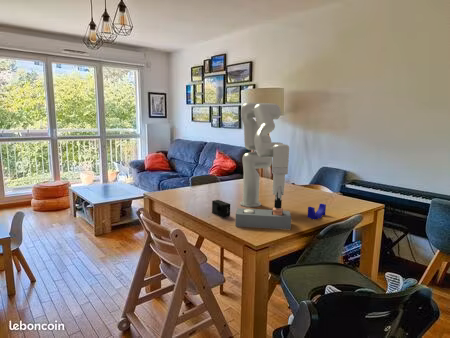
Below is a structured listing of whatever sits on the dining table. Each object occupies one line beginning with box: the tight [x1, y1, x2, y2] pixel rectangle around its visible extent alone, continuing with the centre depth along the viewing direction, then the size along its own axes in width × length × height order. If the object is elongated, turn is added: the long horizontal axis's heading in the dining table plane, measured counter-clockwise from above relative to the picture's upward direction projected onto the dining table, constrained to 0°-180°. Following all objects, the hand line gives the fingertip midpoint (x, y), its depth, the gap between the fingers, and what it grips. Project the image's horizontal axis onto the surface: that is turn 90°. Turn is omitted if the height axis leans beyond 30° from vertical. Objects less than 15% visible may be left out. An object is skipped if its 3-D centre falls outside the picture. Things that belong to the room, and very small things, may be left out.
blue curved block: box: [306, 203, 327, 221], centre depth 162 cm, size 12×4×6 cm, turn 129°
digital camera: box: [211, 199, 231, 219], centre depth 161 cm, size 10×5×7 cm, turn 39°
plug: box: [244, 208, 254, 214], centre depth 149 cm, size 5×5×6 cm
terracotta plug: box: [272, 206, 284, 215], centre depth 147 cm, size 5×5×6 cm
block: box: [234, 207, 292, 231], centre depth 148 cm, size 10×26×6 cm, turn 83°
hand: (277, 207), depth 147 cm, fingers closed
